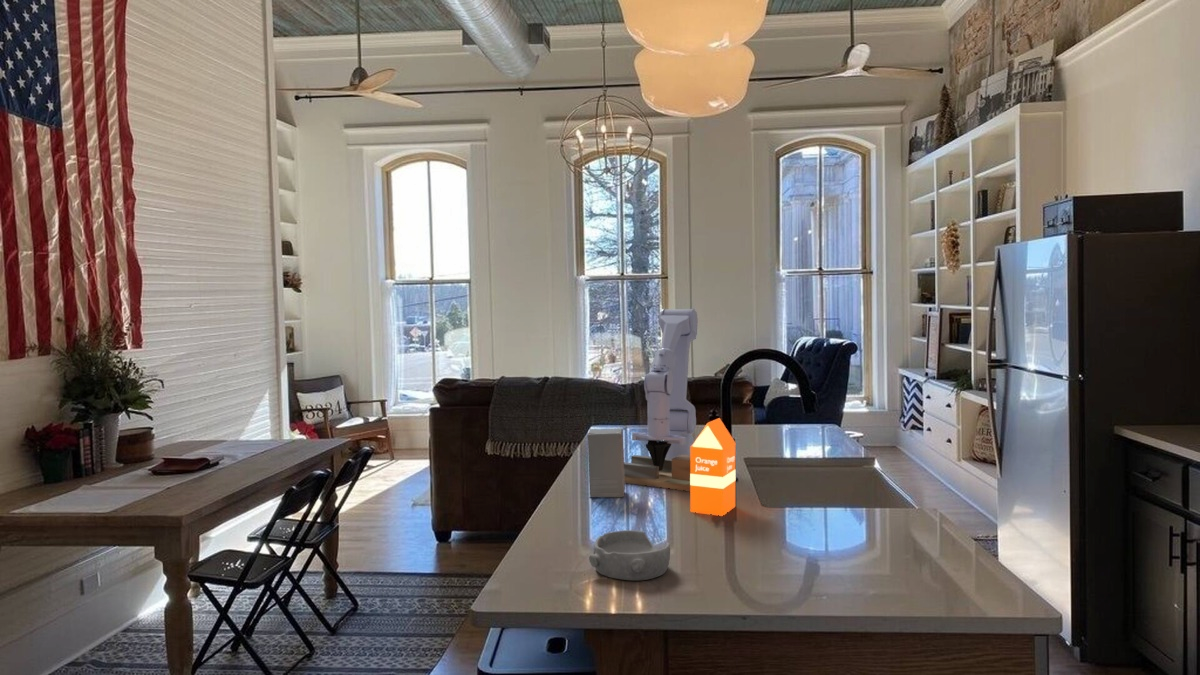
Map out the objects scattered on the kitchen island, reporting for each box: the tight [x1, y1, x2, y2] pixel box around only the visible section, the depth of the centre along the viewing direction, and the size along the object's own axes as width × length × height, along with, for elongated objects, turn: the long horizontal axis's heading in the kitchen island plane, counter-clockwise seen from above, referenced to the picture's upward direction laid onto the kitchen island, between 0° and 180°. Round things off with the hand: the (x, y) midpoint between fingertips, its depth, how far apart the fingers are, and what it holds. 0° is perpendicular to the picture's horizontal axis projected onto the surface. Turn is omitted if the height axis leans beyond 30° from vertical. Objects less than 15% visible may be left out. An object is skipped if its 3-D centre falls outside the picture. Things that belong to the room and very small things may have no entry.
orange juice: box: [689, 417, 737, 517], centre depth 175 cm, size 8×9×20 cm
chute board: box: [624, 454, 690, 492], centre depth 204 cm, size 14×24×4 cm, turn 60°
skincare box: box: [586, 427, 626, 498], centre depth 188 cm, size 8×7×16 cm
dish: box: [588, 529, 671, 581], centre depth 138 cm, size 14×14×5 cm
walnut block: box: [672, 455, 690, 481], centre depth 200 cm, size 6×5×5 cm
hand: (658, 470), depth 204 cm, fingers closed
